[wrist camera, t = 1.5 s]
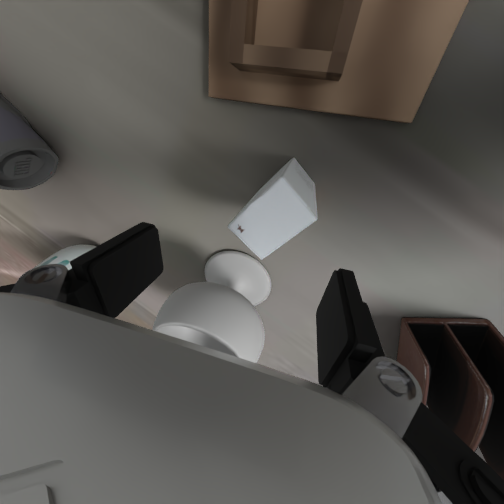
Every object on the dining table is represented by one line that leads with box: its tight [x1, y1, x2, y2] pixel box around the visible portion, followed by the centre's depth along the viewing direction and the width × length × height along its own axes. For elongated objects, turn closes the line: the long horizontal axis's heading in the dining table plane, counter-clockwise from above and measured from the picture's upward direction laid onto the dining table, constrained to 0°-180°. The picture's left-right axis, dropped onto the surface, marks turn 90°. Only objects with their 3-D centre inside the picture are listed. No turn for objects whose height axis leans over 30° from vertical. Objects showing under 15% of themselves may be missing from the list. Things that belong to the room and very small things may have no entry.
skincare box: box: [228, 158, 318, 260], centre depth 20 cm, size 6×4×12 cm
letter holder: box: [397, 317, 504, 480], centre depth 27 cm, size 10×20×14 cm, turn 15°
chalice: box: [153, 251, 272, 363], centre depth 29 cm, size 14×14×15 cm
